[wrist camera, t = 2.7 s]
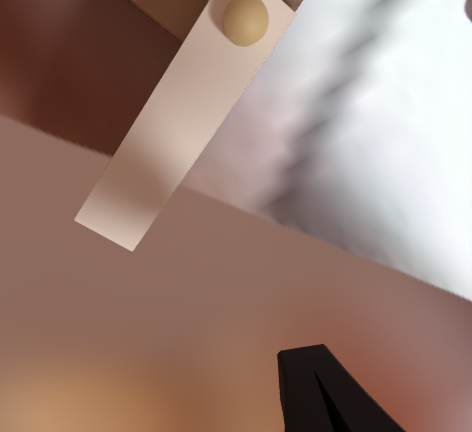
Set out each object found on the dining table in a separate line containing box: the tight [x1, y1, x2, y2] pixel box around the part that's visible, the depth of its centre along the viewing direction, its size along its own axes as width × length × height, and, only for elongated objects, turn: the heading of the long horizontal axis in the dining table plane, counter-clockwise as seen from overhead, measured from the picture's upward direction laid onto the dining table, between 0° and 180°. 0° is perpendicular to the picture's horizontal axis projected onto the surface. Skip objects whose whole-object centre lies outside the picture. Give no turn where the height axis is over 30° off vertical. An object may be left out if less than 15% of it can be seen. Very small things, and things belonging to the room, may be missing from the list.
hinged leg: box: [74, 0, 297, 251], centre depth 13 cm, size 10×2×3 cm, turn 143°
